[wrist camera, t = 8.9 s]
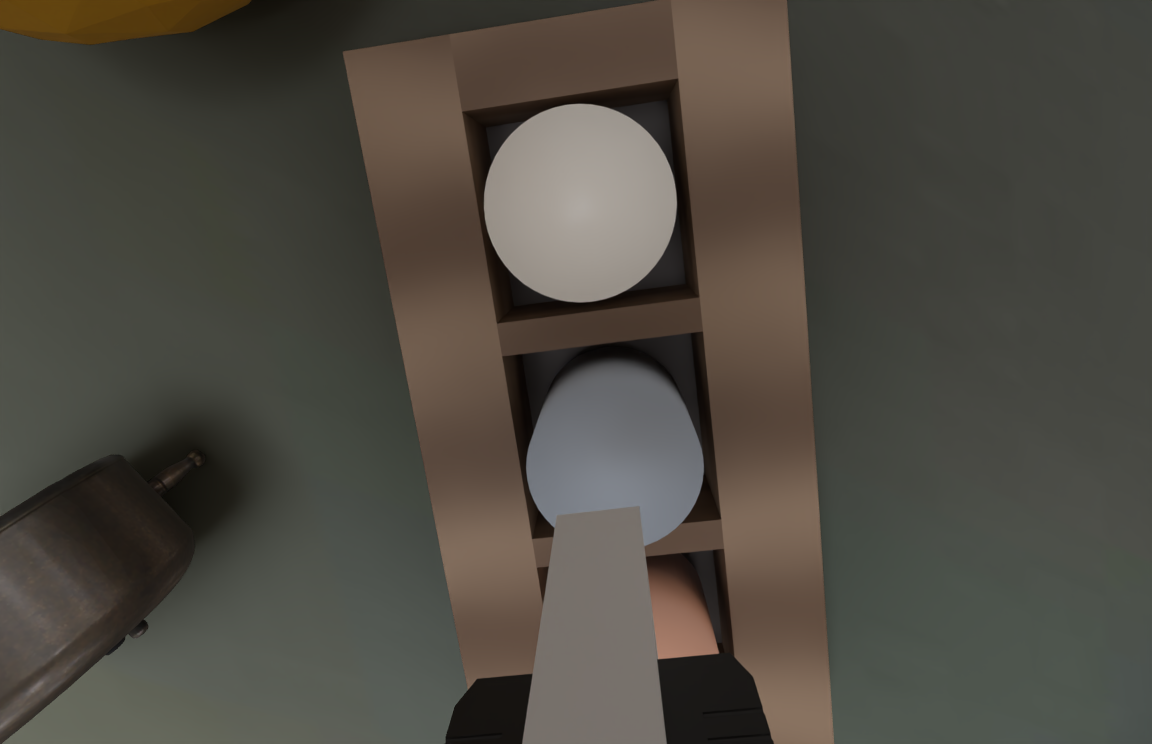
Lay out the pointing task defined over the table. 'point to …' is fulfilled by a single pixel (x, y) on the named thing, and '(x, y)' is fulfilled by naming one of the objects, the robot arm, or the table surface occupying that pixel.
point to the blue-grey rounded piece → (616, 442)
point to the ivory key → (580, 203)
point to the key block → (612, 316)
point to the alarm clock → (83, 576)
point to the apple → (109, 18)
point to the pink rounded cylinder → (679, 608)
